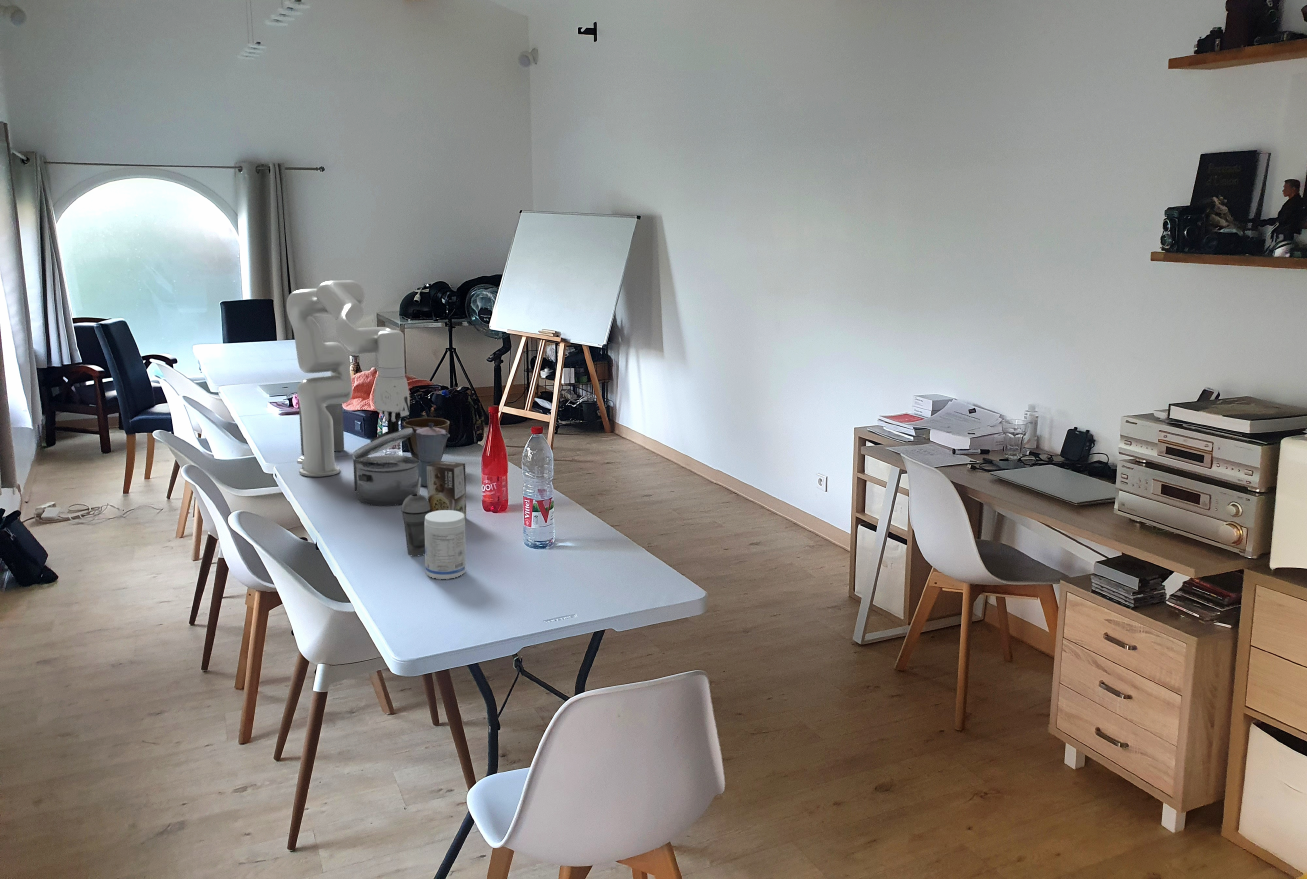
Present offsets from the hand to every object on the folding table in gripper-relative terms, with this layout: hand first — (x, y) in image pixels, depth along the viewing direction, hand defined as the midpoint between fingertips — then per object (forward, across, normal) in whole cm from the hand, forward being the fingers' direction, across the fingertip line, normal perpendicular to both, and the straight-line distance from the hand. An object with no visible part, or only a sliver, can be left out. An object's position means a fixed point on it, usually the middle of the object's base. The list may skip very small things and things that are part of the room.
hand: (393, 433), depth 285 cm
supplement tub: (+20, +52, -43) cm, 70 cm away
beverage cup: (+20, +36, -35) cm, 55 cm away
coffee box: (+20, +26, -8) cm, 34 cm away
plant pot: (+20, -15, +34) cm, 42 cm away
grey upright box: (+21, -61, +33) cm, 72 cm away
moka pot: (+20, -3, +19) cm, 28 cm away
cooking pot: (+20, -3, 0) cm, 20 cm away
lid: (+4, -4, 0) cm, 6 cm away
